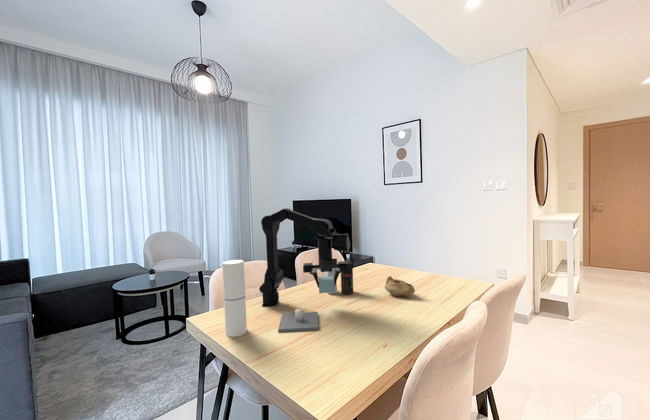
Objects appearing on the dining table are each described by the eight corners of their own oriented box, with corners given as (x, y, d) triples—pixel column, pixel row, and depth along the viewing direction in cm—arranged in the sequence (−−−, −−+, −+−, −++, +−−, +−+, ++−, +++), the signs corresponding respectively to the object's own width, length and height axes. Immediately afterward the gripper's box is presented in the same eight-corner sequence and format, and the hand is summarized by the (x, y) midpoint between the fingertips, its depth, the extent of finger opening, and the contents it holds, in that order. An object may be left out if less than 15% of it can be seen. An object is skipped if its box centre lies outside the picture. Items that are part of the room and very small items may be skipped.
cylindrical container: (227, 338, 96) (224, 265, 96) (224, 330, 103) (221, 261, 102) (248, 333, 100) (245, 262, 99) (244, 325, 106) (241, 258, 105)
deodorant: (352, 294, 136) (351, 263, 136) (340, 294, 138) (339, 263, 137) (354, 291, 142) (353, 261, 142) (342, 290, 143) (341, 261, 143)
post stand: (278, 332, 100) (277, 319, 100) (282, 316, 114) (282, 304, 114) (318, 330, 100) (317, 317, 100) (317, 314, 114) (317, 302, 114)
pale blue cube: (319, 293, 116) (318, 280, 116) (319, 288, 122) (318, 276, 122) (334, 292, 116) (334, 280, 116) (333, 287, 122) (333, 276, 122)
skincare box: (337, 293, 139) (336, 268, 139) (328, 294, 138) (328, 269, 137) (332, 289, 145) (332, 266, 145) (324, 291, 144) (323, 267, 143)
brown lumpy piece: (411, 301, 125) (410, 283, 125) (380, 295, 134) (379, 278, 134) (420, 294, 133) (419, 277, 133) (390, 289, 143) (389, 273, 142)
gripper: (301, 254, 110) (303, 294, 111) (349, 252, 111) (351, 292, 111) (302, 249, 121) (304, 286, 122) (346, 248, 122) (347, 284, 123)
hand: (326, 287), depth 119 cm, fingers closed on pale blue cube, 6 cm apart
